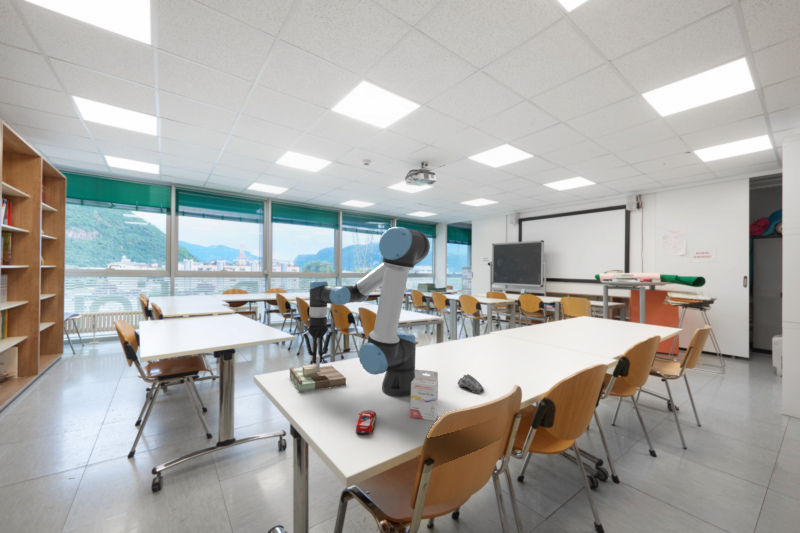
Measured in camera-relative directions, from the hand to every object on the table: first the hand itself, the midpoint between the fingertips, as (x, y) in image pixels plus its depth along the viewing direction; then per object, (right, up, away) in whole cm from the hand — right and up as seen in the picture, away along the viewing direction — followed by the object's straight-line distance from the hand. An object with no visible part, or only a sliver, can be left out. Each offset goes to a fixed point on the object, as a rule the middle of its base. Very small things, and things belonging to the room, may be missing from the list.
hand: (317, 370), depth 142 cm
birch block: (-3, -1, -2) cm, 4 cm away
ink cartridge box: (+44, -5, -33) cm, 55 cm away
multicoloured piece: (0, -5, 0) cm, 5 cm away
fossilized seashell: (+65, -6, -6) cm, 66 cm away
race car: (+25, -5, -40) cm, 48 cm away
